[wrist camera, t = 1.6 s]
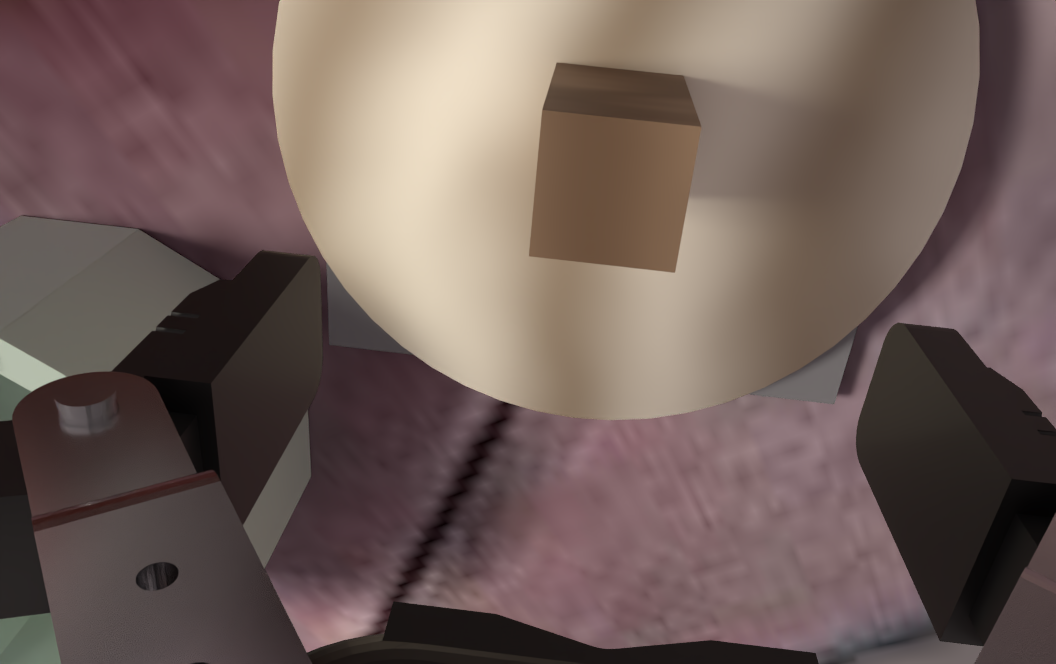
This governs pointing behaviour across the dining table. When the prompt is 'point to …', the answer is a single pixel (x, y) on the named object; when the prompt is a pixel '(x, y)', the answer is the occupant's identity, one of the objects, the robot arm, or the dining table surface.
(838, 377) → the mat
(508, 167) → the lid
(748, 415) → the dining table surface
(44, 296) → the bowl
